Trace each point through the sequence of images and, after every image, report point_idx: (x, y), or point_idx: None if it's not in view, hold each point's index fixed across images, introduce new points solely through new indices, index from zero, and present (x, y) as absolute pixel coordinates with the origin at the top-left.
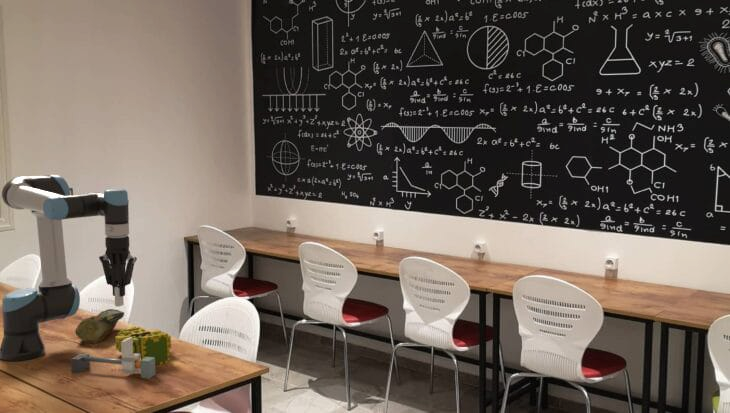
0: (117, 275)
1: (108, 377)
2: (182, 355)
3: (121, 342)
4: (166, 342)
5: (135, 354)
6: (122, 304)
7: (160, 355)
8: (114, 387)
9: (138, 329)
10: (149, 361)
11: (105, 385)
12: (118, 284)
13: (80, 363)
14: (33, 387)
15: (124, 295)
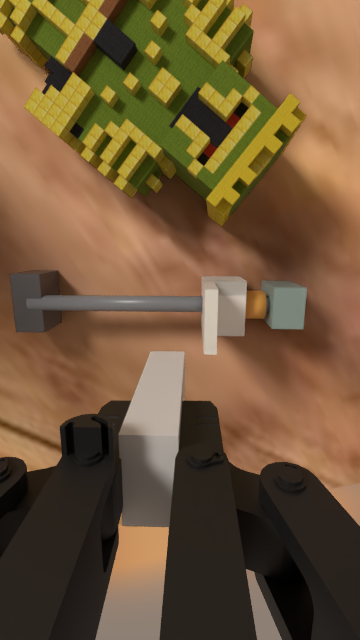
0: (70, 621)
1: (166, 335)
2: (292, 63)
3: (205, 352)
4: (291, 136)
5: (231, 293)
6: (184, 367)
7: (263, 174)
8: (225, 396)
9: None
10: (302, 323)
11: (194, 389)
12: (114, 455)
13: (50, 319)
14: (30, 441)
15: (210, 407)
